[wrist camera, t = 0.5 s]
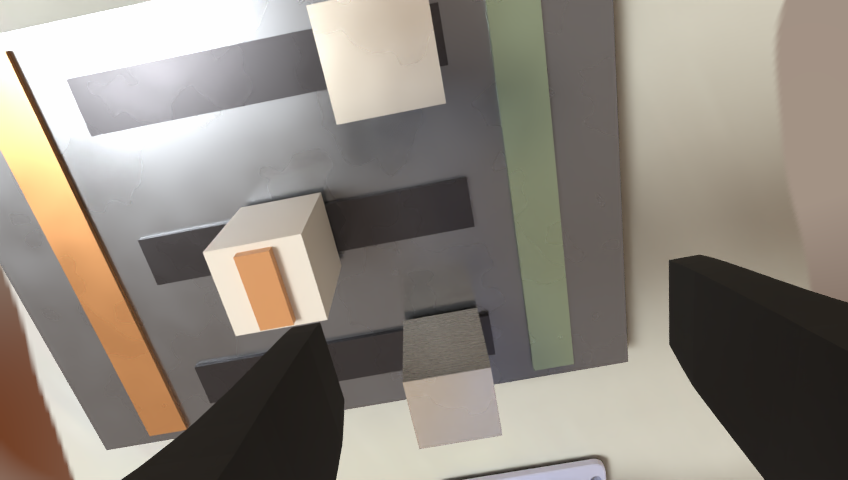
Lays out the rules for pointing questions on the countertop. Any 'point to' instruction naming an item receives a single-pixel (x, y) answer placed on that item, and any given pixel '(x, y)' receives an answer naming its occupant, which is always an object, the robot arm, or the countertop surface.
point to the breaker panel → (312, 173)
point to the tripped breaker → (275, 264)
